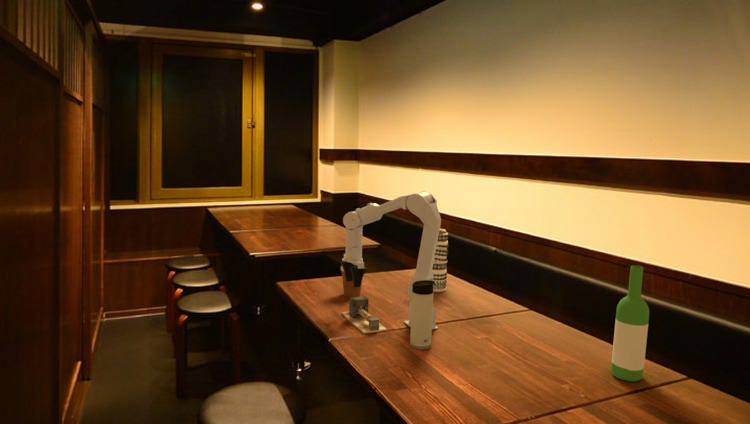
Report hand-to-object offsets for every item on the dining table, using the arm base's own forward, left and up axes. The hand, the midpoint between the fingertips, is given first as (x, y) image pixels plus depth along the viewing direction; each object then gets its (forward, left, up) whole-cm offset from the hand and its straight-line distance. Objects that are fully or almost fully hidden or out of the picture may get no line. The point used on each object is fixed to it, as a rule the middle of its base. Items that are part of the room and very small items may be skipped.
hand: (353, 284), depth 185 cm
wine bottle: (-72, -51, -11) cm, 89 cm away
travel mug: (-35, -9, -11) cm, 38 cm away
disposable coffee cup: (+20, -8, -11) cm, 24 cm away
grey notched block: (-6, 0, -10) cm, 12 cm away
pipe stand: (-10, 0, -10) cm, 14 cm away
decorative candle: (+17, -44, -11) cm, 48 cm away
